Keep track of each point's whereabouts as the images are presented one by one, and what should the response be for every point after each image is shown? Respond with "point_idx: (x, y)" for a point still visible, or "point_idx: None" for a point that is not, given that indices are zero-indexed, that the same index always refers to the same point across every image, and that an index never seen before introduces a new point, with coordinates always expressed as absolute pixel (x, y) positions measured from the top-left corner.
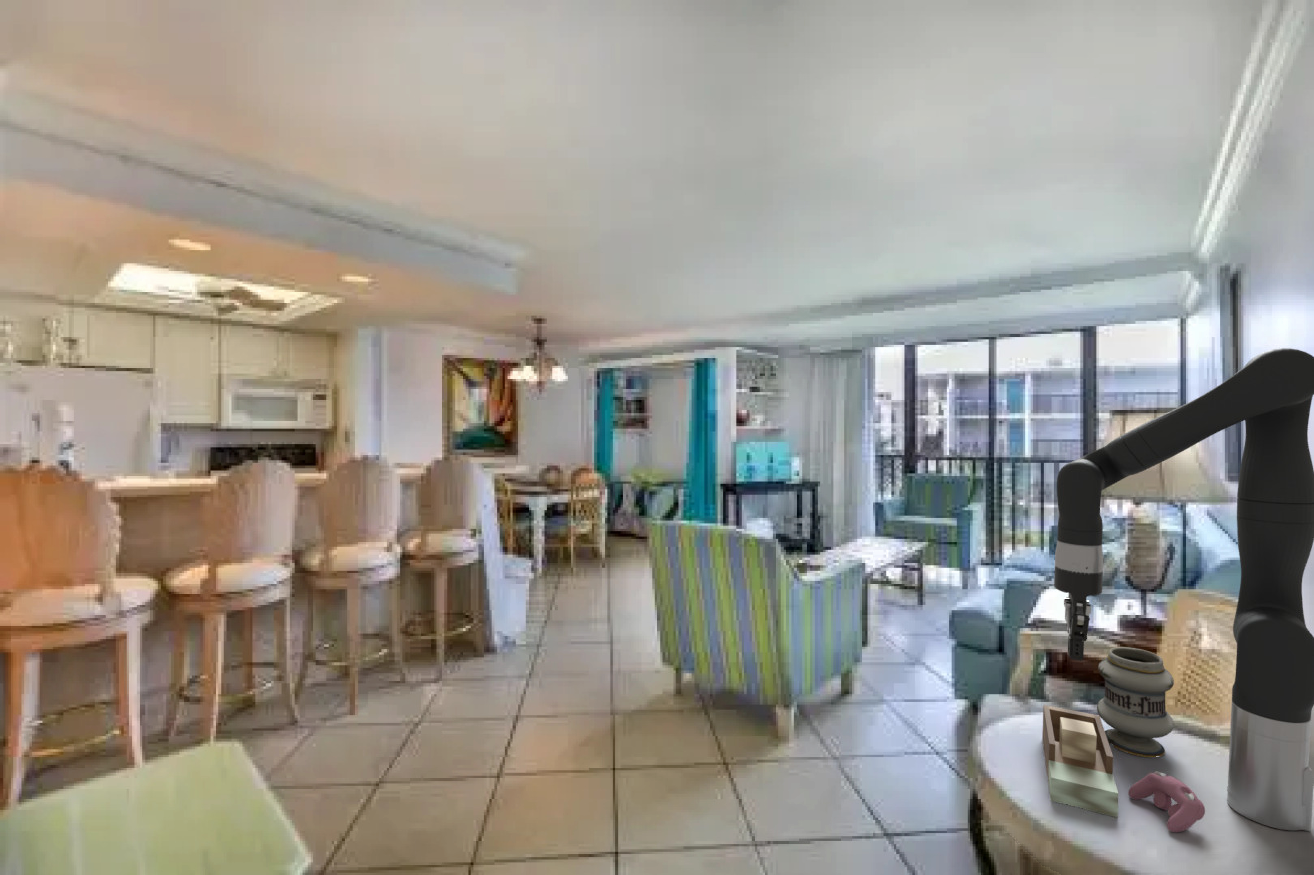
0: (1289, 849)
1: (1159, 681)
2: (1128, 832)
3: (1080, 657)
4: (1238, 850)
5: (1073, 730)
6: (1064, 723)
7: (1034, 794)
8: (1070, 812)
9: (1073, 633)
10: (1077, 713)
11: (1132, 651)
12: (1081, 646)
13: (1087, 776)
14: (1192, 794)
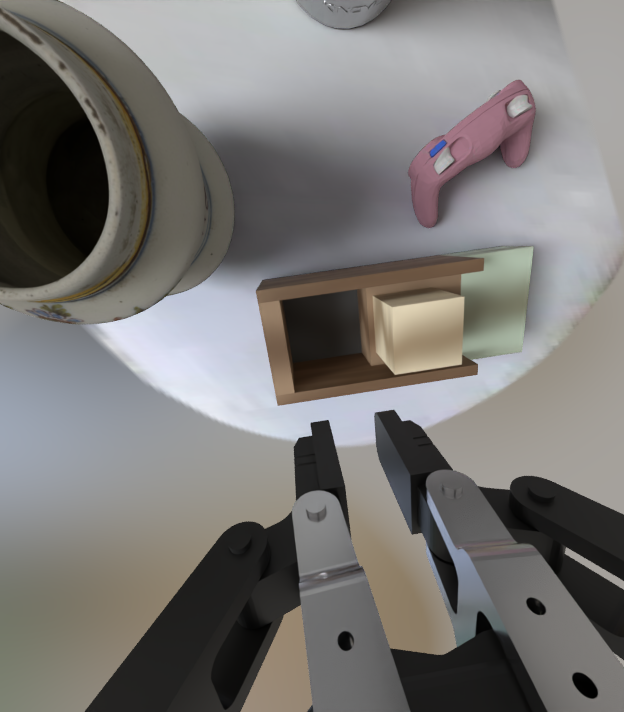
0: None
1: (139, 69)
2: (538, 230)
3: (414, 425)
4: (524, 45)
5: (458, 343)
6: (429, 363)
7: (485, 360)
8: None
9: (603, 580)
10: (278, 338)
11: None
12: (444, 460)
13: (491, 298)
14: (518, 96)
